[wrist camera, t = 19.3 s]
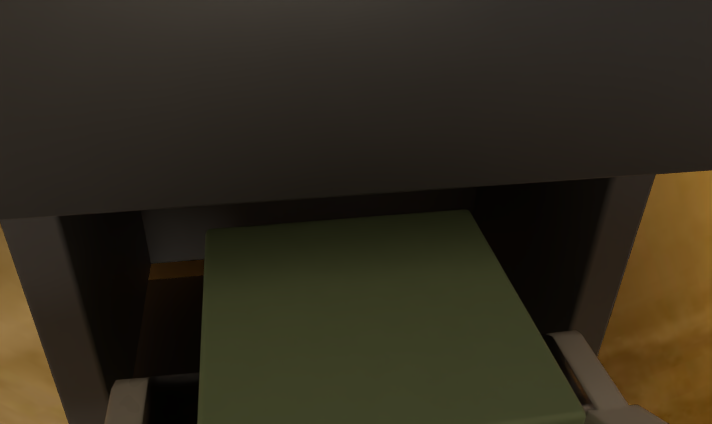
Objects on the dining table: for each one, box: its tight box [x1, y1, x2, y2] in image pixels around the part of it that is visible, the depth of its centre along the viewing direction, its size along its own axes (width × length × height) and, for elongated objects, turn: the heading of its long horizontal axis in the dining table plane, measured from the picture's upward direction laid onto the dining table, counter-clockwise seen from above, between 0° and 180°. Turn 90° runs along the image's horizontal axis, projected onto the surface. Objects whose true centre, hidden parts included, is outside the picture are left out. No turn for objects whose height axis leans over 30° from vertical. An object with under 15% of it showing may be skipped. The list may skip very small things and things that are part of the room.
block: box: [197, 209, 586, 424], centre depth 10 cm, size 4×4×4 cm
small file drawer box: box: [0, 174, 656, 424], centre depth 14 cm, size 19×11×7 cm, turn 179°
